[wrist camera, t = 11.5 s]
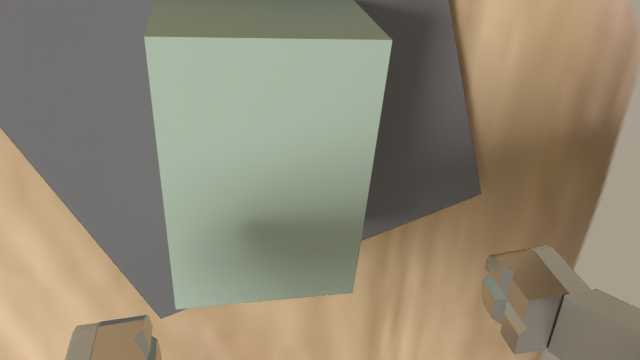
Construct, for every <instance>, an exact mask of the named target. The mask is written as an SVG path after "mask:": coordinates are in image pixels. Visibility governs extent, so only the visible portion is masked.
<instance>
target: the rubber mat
mask: <svg viewBox="0 0 640 360" xmlns="http://www.w3.org/2000/svg"><path fill="white" fill-rule="evenodd" d="M354 1H355V2H356V3H357V4H358V5H359V6H360V7H361V8H362V9H363V10H364V11H365V12H366V13H367V14H368V15H369V16H370V17H371V18H372V19H373V21H374V22H375V23H376V24H377V25H378V26H379V27H380V28H381V29H382V30H383V31H384V32H385V33H386V34H387V35H388V36H389V37H390V38H391V39H392V46H391V53H390V59H389V65H388V72H387V78H386V84H385V91H384V97H383V104H382V110H381V116H380V123H379V129H378V135H377V142H376V148H375V154H374V161H373V167H372V173H371V180H370V186H369V193H368V199H367V205H366V212H365V218H364V224H363V231H362V237H361V241H362V240H364V239H367V238H369V237H372V236H375V235H377V234H380V233H382V232H385V231H387V230H390V229H393V228H395V227H398V226H400V225H403V224H405V223H408V222H410V221H413V220H416V219H418V218H421V217H423V216H426V215H428V214H431V213H434V212H436V211H439V210H441V209H444V208H446V207H449V206H452V205H454V204H457V203H459V202H462V201H464V200H467V199H469V198H472V197H475V196H477V195H480V194H481V190H480V184H479V178H478V172H477V166H476V161H475V155H474V149H473V143H472V137H471V131H470V125H469V119H468V113H467V107H466V101H465V95H464V89H463V83H462V77H461V71H460V66H459V60H458V54H457V48H456V42H455V36H454V30H453V24H452V18H451V12H450V6H449V0H354ZM153 4H154V0H0V128H1V129H2V130H3V131H4V133H5V134H6V135H7V136H8V137H9V138H10V140H11V141H12V142H13V143H14V144H15V146H16V147H17V148H18V149H19V150H20V152H21V153H22V154H23V155H24V156H25V158H26V159H27V160H28V161H29V162H30V164H31V165H32V166H33V167H34V168H35V169H36V171H37V172H38V173H39V174H40V175H41V177H42V178H43V179H44V180H45V181H46V183H47V184H48V185H49V186H50V187H51V189H52V190H53V191H54V192H55V193H56V194H57V196H58V197H59V198H60V199H61V200H62V202H63V203H64V204H65V205H66V206H67V208H68V209H69V210H70V211H71V212H72V214H73V215H74V216H75V217H76V218H77V220H78V221H79V222H80V223H81V224H82V225H83V227H84V228H85V229H86V230H87V231H88V233H89V234H90V235H91V236H92V237H93V239H94V240H95V241H96V242H97V243H98V245H99V246H100V247H101V248H102V249H103V251H104V252H105V253H106V254H107V255H108V256H109V258H110V259H111V260H112V261H113V262H114V264H115V265H116V266H117V267H118V268H119V270H120V271H121V272H122V273H123V274H124V276H125V277H126V278H127V279H128V280H129V282H130V283H131V284H132V285H133V286H134V287H135V289H136V290H137V291H138V292H139V293H140V295H141V296H142V297H143V298H144V299H145V301H146V302H147V303H148V304H149V305H150V307H151V308H152V309H153V310H154V311H155V312H156V314H157V315H158V316H159V317H160V318H161V319H162V318H164V317H167V316H170V315H172V314H175V313H177V312H180V311H182V310H185V309H176V308H175V299H174V290H173V282H172V273H171V264H170V256H169V247H168V239H167V230H166V221H165V213H164V204H163V195H162V187H161V178H160V169H159V161H158V152H157V143H156V135H155V126H154V118H153V109H152V100H151V92H150V83H149V74H148V66H147V57H146V48H145V40H144V35H145V32H146V28H147V25H148V21H149V18H150V14H151V11H152V7H153ZM186 309H187V308H186Z"/></svg>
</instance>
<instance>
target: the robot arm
mask: <svg viewBox="0 0 640 360" xmlns="http://www.w3.org/2000/svg"><path fill="white" fill-rule="evenodd" d="M485 268H486V269H487V271H488V272H489V275H488V276H487V277H486V278H485V279H484V280H483V285H482V296H483V302H484V304H485V307H486V309H487V311H488V313H489V315H490V316H491V318H492V319H494V320H496V321H497V322H499V323H501V324H502V327H501V332H500V333H501V334H502V336H503V337H504V339H505V340H506V342H507V344H508V345H509V347H510V348H511V350H512V352H513V353H514V354H520V353H526V352H531V351H537V350H543V349H548V351H549V352H550V353H552V354H553V355H555V356H556V357H558V358H559V359H560V360H640V309H639V308H637V307H635V306H632V305H630V304H628V303H626V302H624V301H622V300H619V299H617V298H615V297H613V296H611V295H608V294H606V293H604V292H602V291H600V290H598V289H594V290H591V289H590V288H589V287H588V286H587V285H586V284H585V283H584V282H583V281H582V279H581V278H580V277H579V276H578V275H577V274H576V273H575V272H574V270H573V269H572V268H571V267H570V266H569V265H568V264H567V263H566V262H565V261H564V259H563V258H562V257H561V256H560V255H559V254H558V253H557V252H556V251H555V249H554V248H553V247H551V246H549V245H544V246H538V247H533V248H528V249H522V250H516V251H511V252H506V253H500V254H495V255H490V256H489V258H488V259H487V262H486V267H485ZM152 327H153V326H152V323H151V320H150V318H149V316H147V315H144V316H137V317H130V318H123V319H117V320H110V321H103V322H100V323H93V324H86V325H79V326H77V327H76V328H75V330H74V331H73V333H72V336H71V340H70V343H69V347H68V351H67V354H66V358H65V360H162V358H161V352H160V347H159V343H158V340H157V339H156V338H154V337H152Z"/></svg>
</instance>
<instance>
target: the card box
mask: <svg viewBox="0 0 640 360" xmlns="http://www.w3.org/2000/svg"><path fill="white" fill-rule="evenodd" d="M144 40H145V48H146V57H147V66H148V74H149V83H150V92H151V100H152V109H153V118H154V126H155V135H156V143H157V152H158V161H159V169H160V178H161V187H162V195H163V204H164V213H165V221H166V230H167V239H168V247H169V256H170V264H171V273H172V282H173V290H174V299H175V308H176V309H186V308H197V307H207V306H218V305H228V304H239V303H250V302H260V301H271V300H282V299H292V298H303V297H314V296H324V295H335V294H346V293H353V288H354V282H355V275H356V269H357V262H358V256H359V250H360V243H361V237H362V231H363V224H364V218H365V212H366V205H367V199H368V193H369V186H370V180H371V173H372V167H373V161H374V154H375V148H376V142H377V135H378V129H379V123H380V116H381V110H382V104H383V97H384V91H385V84H386V78H387V72H388V65H389V59H390V53H391V46H392V39H391V38H390V37H389V36H388V35H387V34H386V33H385V32H384V31H383V30H382V29H381V28H380V27H379V26H378V25H377V24H376V23H375V22H374V21H373V19H372V18H371V17H370V16H369V15H368V14H367V13H366V12H365V11H364V10H363V9H362V8H361V7H360V6H359V5H358V4H357V3H356V2H355V1H354V0H154V4H153V7H152V11H151V14H150V18H149V21H148V25H147V28H146V32H145V35H144Z"/></svg>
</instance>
